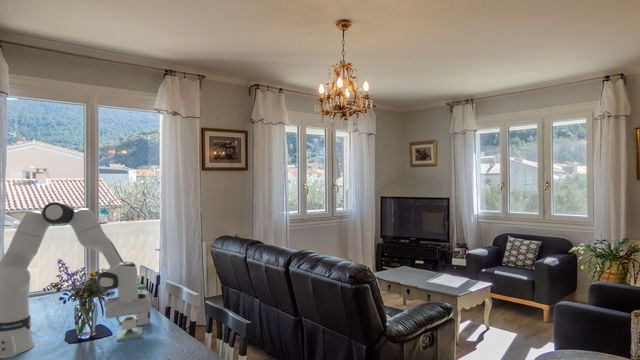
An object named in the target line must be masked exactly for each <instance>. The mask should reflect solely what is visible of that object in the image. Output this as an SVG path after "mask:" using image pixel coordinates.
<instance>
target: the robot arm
mask: <svg viewBox="0 0 640 360" xmlns="http://www.w3.org/2000/svg"><path fill="white" fill-rule="evenodd" d="M68 225H70V227H71V228H72V229H73V231H74V233H75V236H76V237H77V238H76V239H77V240H78V242H79V244H81V246H82V247H83V248H85V249H90V250H94V251H98V252H100V254H102V256H103V257H104V259H105V260H106V262H107V263H108V265H109V268H108V269H105V270H104V271H102V272H100V273H99V274H98V275H97V279H96V284H97V286H98V287H99V289H100V290H103V291H110V290H114V289H117V297H116V296H115V297H109V298H107V299H105V300H104V302H103V306H104V308H105V311H104V312H105V313H104V314H105V316H104V317H105V319H113V318H115V320H116V322H117V323H118V326H121V327H122V320H120V317H128V316H134V314H138V316H139V317H138V318H136V323H139V319H140V317H141V313H146V312H150V313H151V311H152V303H151V299H150V297H149V292H148V291H147V290H146V291H144V290H138V277H139V276H138V275H139V274H138V268H137V265H136V263H134V262H132V261H124V260H123V259H122V257H121V255H120V254H119V252H118V250H117V248H116V247H115V245H114V243H113V242H112V241H111V239H110V238H109V237H108V236H107V235H106V233H105V231H104V229H103V228H102V226H101V223H100V222H99V220H98V218H97V216H96V215H95V214H94V212H93V210H92V209H90V208H79V209H74V207H73V206H72V205H70V204H68V203H66V202H62V201H56V200H55V201H52V202H51V201H50V202H49V203H48V204H45V206H44V207H43V208H42V211H40V210H31V211H28V212H27V213H26V214H25V215H24V216H23V218H22V219H21V220H20V223H19V224H18V226H17V228H16V230H15V232H14V235H13V236H12V239H11V241H10V244H9V246H8V248H7V250H6V252H5V254H4V255H3V256H2V258H1V261H0V358H1V359H7V358H8V359H9V358H13V357H15V356H16V355H19V354H21V353H23V352H26V351H28V350H30V349H33V348H34V346H36V345H35V341H34V339H33V335H32V330H31V327H32V318H31V315H30V304H29V303H30V302H29V296H30V288H31V272H30V271H29V269H28V268H29V266H30V264H32V263H31V262H32V261H33V259H34V258H35V257H36V255H37V254H38V252H39V249H40V246H41V244H42V242H43V240H44V237H45V234H46V232H47V230H48V228H50V227H52V226H54V227H55V226H68Z"/></svg>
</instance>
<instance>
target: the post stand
mask: <svg viewBox="0 0 640 360" xmlns="http://www.w3.org/2000/svg"><path fill="white" fill-rule="evenodd" d="M126 317H127V320H132V317H131V316H126ZM116 331H117V332H116V342H123V341H128V340H134V339H139V338H140V339H141V338H143V328H142V326H136V328H133V329H127V330H122V329H119V330H116Z"/></svg>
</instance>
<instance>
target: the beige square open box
mask: <svg viewBox="0 0 640 360" xmlns="http://www.w3.org/2000/svg"><path fill="white" fill-rule="evenodd" d="M127 317H128V316H123V317H122V318H121V321H122V325H121V330H127V329H133V328H137V325H136V316H134V315H130V317H132V320H127Z"/></svg>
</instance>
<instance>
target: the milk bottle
mask: <svg viewBox="0 0 640 360" xmlns="http://www.w3.org/2000/svg"><path fill="white" fill-rule="evenodd" d="M137 286H138V290H144V291H147V285H146V284H137ZM133 316H136V318H138V317H139V316H138V314H133ZM150 323H151V311H150V312H146V313H141V317H140V319H139V323H136V327H142V326H145V325H148V324H150Z"/></svg>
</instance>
